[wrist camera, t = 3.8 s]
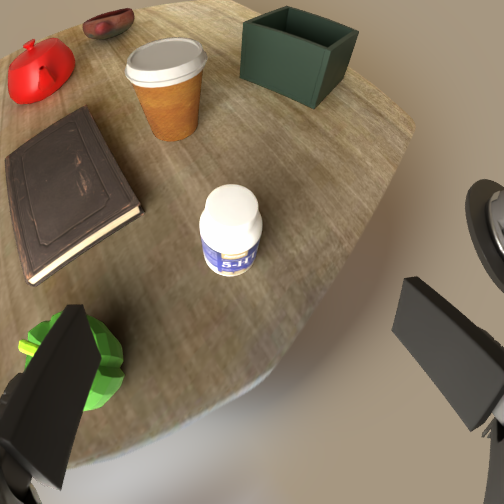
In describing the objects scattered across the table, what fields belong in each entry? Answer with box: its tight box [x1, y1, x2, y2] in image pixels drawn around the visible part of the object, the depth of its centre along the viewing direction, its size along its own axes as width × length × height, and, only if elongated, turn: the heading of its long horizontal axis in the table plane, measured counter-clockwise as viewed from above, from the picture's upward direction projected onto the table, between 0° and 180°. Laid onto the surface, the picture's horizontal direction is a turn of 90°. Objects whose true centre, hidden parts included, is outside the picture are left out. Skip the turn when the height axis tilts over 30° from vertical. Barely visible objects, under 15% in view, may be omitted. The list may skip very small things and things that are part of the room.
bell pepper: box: [18, 312, 125, 411], centre depth 20 cm, size 8×8×10 cm
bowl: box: [83, 8, 134, 40], centre depth 46 cm, size 16×13×8 cm
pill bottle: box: [200, 184, 262, 276], centre depth 26 cm, size 5×5×9 cm
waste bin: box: [240, 6, 359, 109], centre depth 39 cm, size 14×14×11 cm
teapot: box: [8, 38, 75, 104], centre depth 36 cm, size 25×16×12 cm, turn 43°
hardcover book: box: [5, 105, 145, 287], centre depth 31 cm, size 16×23×2 cm
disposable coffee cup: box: [125, 37, 207, 141], centre depth 31 cm, size 10×10×12 cm
